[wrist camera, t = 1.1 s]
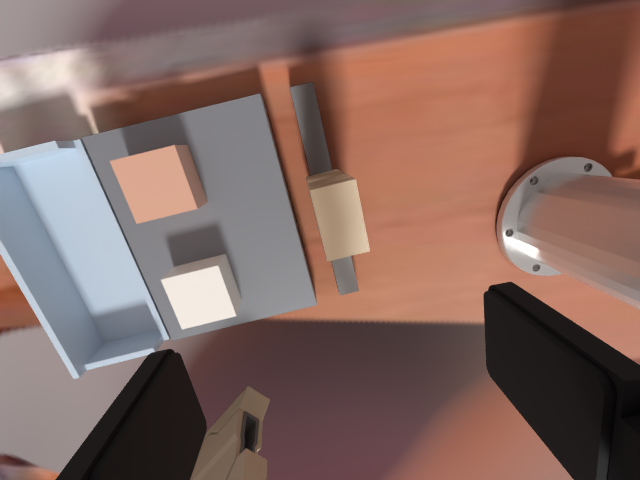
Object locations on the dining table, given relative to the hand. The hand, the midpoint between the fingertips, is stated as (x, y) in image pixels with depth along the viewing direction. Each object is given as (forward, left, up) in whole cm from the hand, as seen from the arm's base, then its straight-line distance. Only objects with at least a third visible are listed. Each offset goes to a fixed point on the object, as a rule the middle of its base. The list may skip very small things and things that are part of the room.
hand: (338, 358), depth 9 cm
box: (+21, -1, -23) cm, 31 cm away
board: (+9, -1, -23) cm, 24 cm away
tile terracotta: (+11, -6, -20) cm, 24 cm away
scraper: (-2, -1, -23) cm, 23 cm away
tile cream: (+11, +4, -20) cm, 23 cm away
